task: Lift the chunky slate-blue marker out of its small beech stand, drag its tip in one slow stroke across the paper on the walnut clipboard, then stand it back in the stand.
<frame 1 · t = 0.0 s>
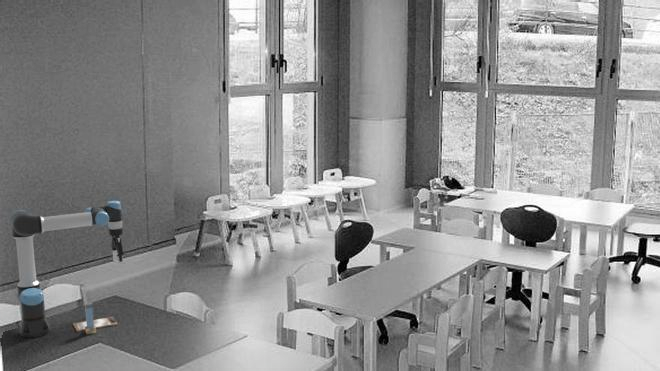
hand: (118, 264, 464), 28 cm above the table, fingers open, 13 cm apart
clipboard: (95, 324, 446), on the table
stand: (90, 332, 435), on the table
marker: (90, 326, 434), point 3 cm above the table, touching stand
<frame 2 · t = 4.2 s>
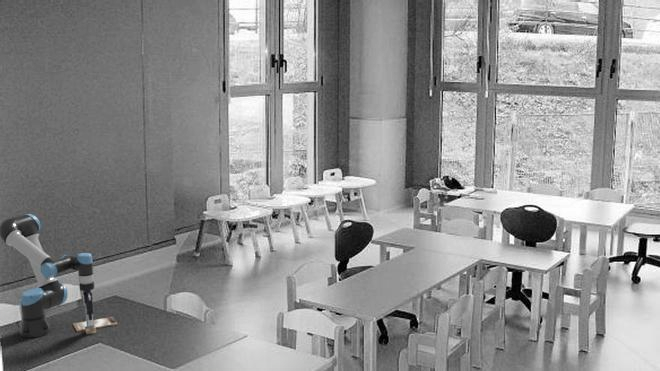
hand: (90, 324, 434), 5 cm above the table, fingers closed on marker, 3 cm apart
marker: (90, 326, 434), point 3 cm above the table, touching gripper, stand
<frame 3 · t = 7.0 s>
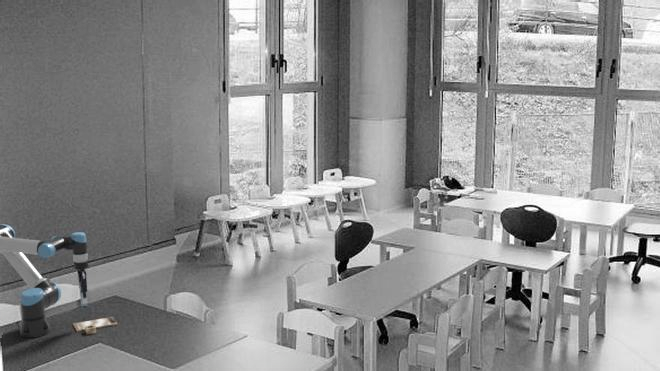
hand: (84, 302, 442), 14 cm above the table, fingers closed on marker, 3 cm apart
marker: (84, 305, 442), point 12 cm above the table, touching gripper
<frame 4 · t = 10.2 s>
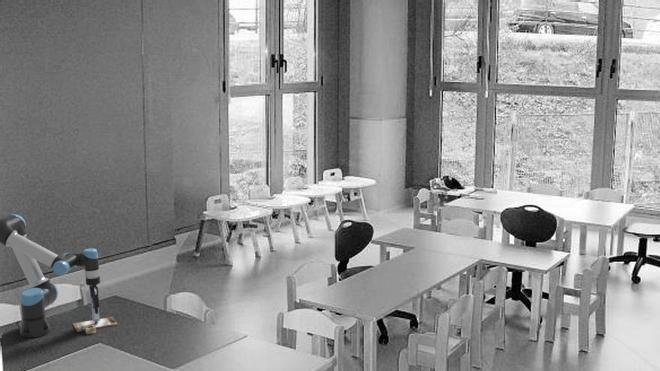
hand: (96, 317, 446), 4 cm above the table, fingers closed on marker, 3 cm apart
marker: (96, 320, 446), point 2 cm above the table, touching gripper
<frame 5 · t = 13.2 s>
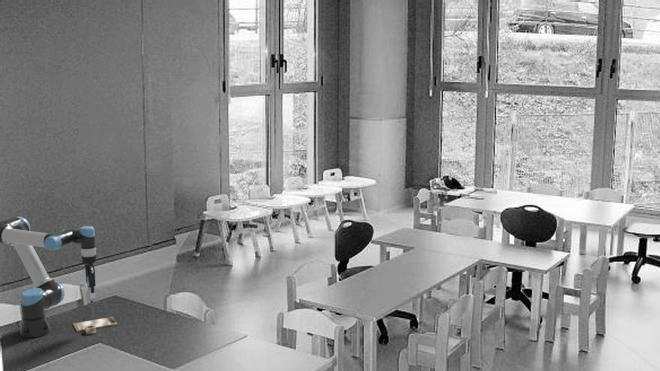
hand: (91, 297, 436), 18 cm above the table, fingers closed on marker, 3 cm apart
marker: (91, 299, 436), point 17 cm above the table, touching gripper
when the fingers open (5 cm above the table, at t = 16.2 s): marker stays where it is, resting on stand.
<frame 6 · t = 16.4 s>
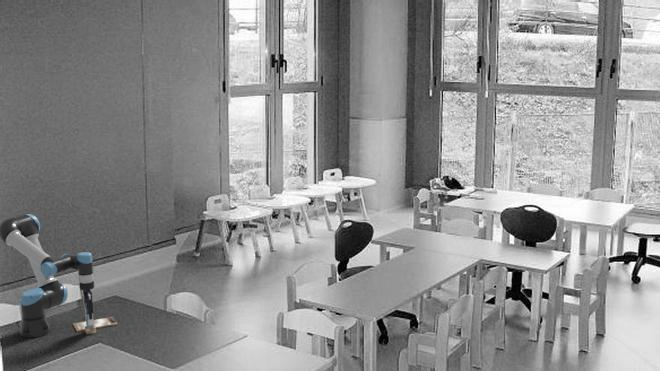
hand: (89, 323, 434), 5 cm above the table, fingers open, 5 cm apart
marker: (90, 326, 434), point 3 cm above the table, touching stand
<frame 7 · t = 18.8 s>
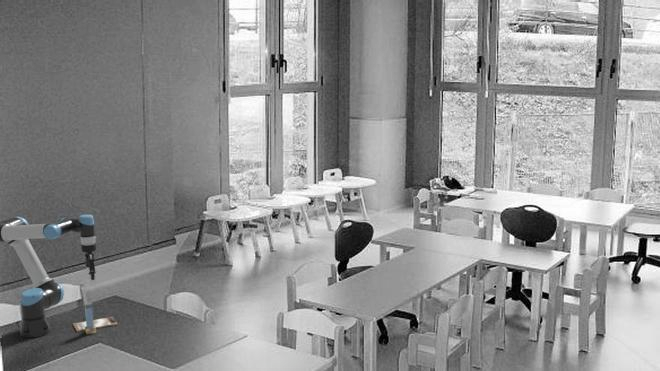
hand: (91, 282, 435), 27 cm above the table, fingers open, 13 cm apart
nothing on the table moved.
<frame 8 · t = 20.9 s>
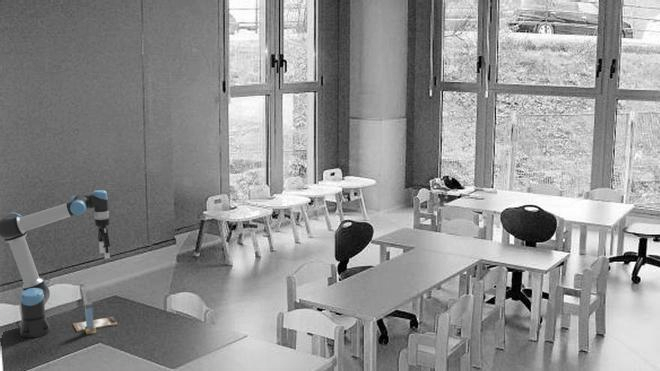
hand: (104, 255, 449), 37 cm above the table, fingers open, 13 cm apart
nothing on the table moved.
at the end: marker 0.1 cm off-centre on the stand, point 3.0 cm above the stand's base; marker tilted 0°; the gripper is holding nothing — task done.
